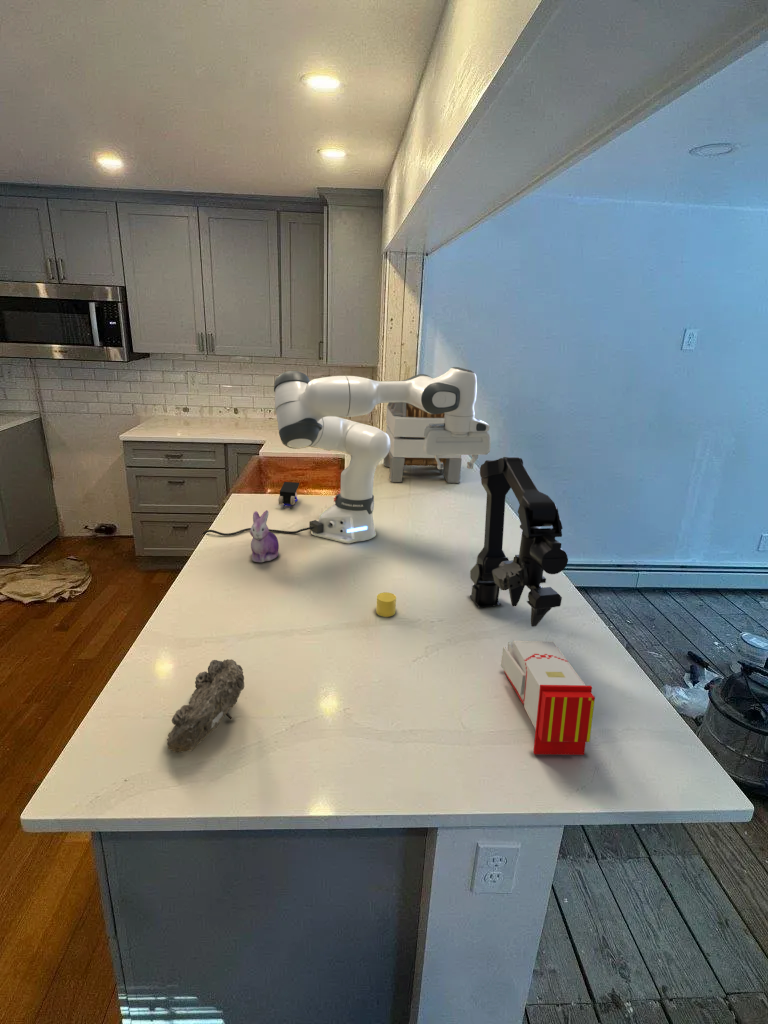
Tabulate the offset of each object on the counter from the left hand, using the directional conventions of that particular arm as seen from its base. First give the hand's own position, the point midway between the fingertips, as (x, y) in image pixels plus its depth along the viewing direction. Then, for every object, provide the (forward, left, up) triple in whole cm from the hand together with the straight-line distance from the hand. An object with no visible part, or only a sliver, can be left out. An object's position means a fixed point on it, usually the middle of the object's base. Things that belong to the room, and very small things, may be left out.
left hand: (455, 468), depth 173 cm
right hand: (+25, -47, -21) cm, 57 cm away
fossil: (-30, -90, -30) cm, 100 cm away
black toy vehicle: (-68, +27, -30) cm, 79 cm away
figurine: (-54, -21, -30) cm, 65 cm away
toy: (+30, -66, -30) cm, 79 cm away
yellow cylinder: (-9, -41, -30) cm, 51 cm away
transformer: (-30, +93, -30) cm, 102 cm away
